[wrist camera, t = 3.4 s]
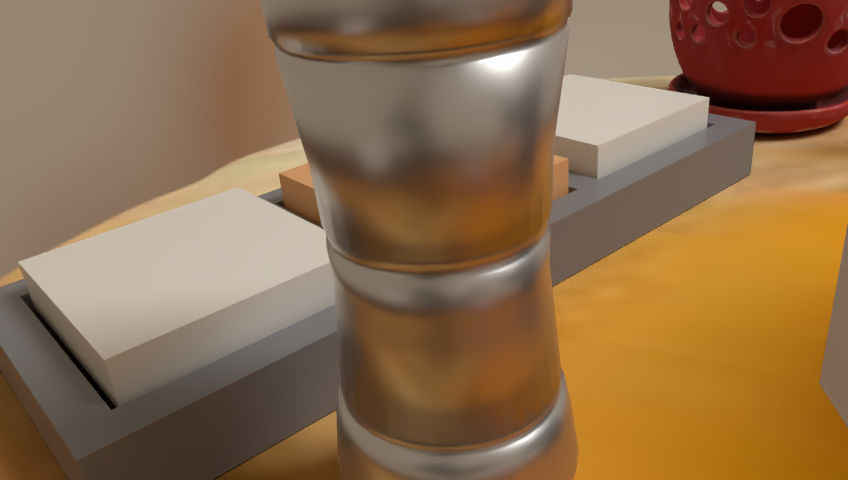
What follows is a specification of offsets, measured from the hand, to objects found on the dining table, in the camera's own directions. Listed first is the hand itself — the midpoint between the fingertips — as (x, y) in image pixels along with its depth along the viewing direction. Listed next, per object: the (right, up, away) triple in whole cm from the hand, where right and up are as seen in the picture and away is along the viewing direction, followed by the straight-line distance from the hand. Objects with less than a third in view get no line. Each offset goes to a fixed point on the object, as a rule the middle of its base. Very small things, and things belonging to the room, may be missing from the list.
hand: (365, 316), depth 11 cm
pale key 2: (-8, -1, +18) cm, 20 cm away
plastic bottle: (+2, -7, +11) cm, 13 cm away
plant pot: (+24, +9, +40) cm, 47 cm away
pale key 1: (+10, +7, +31) cm, 33 cm away
